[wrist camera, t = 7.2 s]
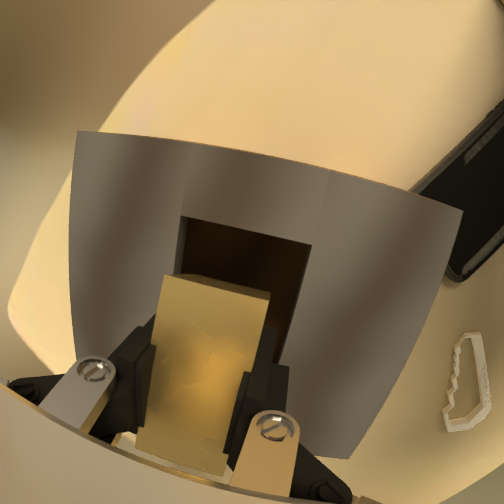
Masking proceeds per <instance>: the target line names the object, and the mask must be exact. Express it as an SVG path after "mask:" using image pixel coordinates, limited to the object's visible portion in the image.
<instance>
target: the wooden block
mask: <svg viewBox="0 0 504 504" xmlns="http://www.w3.org/2000/svg"><path fill="white" fill-rule="evenodd" d="M270 294H271V293H270V292H266V291H262V290H257V289H253V288H249V287H245V286H241V285H237V284H233V283H229V282H225V281H221V280H217V279H213V278H209V277H205V276H201V275H197V274H164V279H163V283H162V288H161V293H160V297H159V302H158V307H157V312H156V317H155V322H154V327H153V333H152V338H151V343H150V344H153V345H156V346H157V347H156V353H155V358H154V364H153V370H152V376H151V382H150V388H149V394H148V401H147V408H146V415H145V422H144V428H142V427H139V426H138V430H137V438H136V447H135V448H136V449H139V450H142V451H144V452H147V453H149V454H152V455H155V456H157V457H160V458H163V459H166V460H169V461H172V462H175V463H178V464H181V465H184V466H187V467H190V468H194V469H197V470H201V471H204V472H208V473H212V474H215V475H219V476H223V474H224V470H225V467H226V463H227V459H228V456H229V455H228V454H224V453H223V449H224V445H225V441H226V437H227V433H228V429H229V425H230V421H231V417H232V413H233V409H234V405H235V401H236V397H237V393H238V390H239V386H240V383H241V379H242V376H243V373H244V371H247V372H251V371H252V367H253V363H254V359H255V355H256V352H257V348H258V344H259V340H260V336H261V332H262V328H263V324H264V320H265V316H266V312H267V308H268V303H269V299H270Z"/></svg>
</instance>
